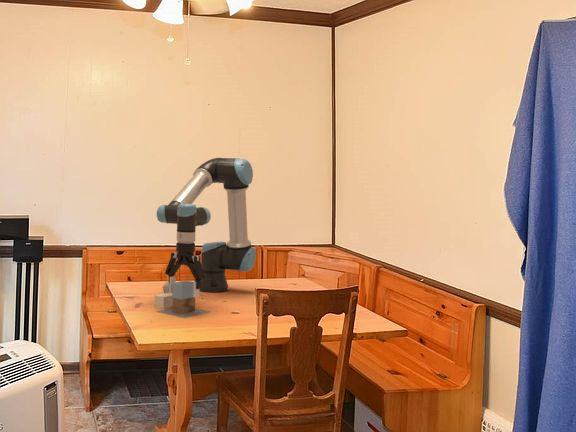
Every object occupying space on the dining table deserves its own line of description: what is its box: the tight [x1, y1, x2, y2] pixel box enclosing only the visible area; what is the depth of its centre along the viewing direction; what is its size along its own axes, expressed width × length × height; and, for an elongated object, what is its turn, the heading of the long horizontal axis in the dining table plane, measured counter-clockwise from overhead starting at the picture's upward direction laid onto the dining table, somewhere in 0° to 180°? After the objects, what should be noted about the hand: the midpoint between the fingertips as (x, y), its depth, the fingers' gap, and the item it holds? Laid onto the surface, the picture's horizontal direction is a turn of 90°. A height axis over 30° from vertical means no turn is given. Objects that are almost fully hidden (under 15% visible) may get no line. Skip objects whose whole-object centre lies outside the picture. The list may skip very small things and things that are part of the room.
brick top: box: [172, 280, 194, 299], centre depth 282 cm, size 8×5×6 cm, turn 146°
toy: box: [162, 280, 173, 294], centre depth 303 cm, size 6×12×15 cm
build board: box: [154, 307, 212, 319], centre depth 283 cm, size 16×16×1 cm
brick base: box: [171, 297, 196, 314], centre depth 283 cm, size 8×5×6 cm, turn 145°
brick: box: [154, 292, 173, 310], centre depth 291 cm, size 8×5×6 cm, turn 146°
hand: (184, 294), depth 282 cm, fingers open, 12 cm apart
